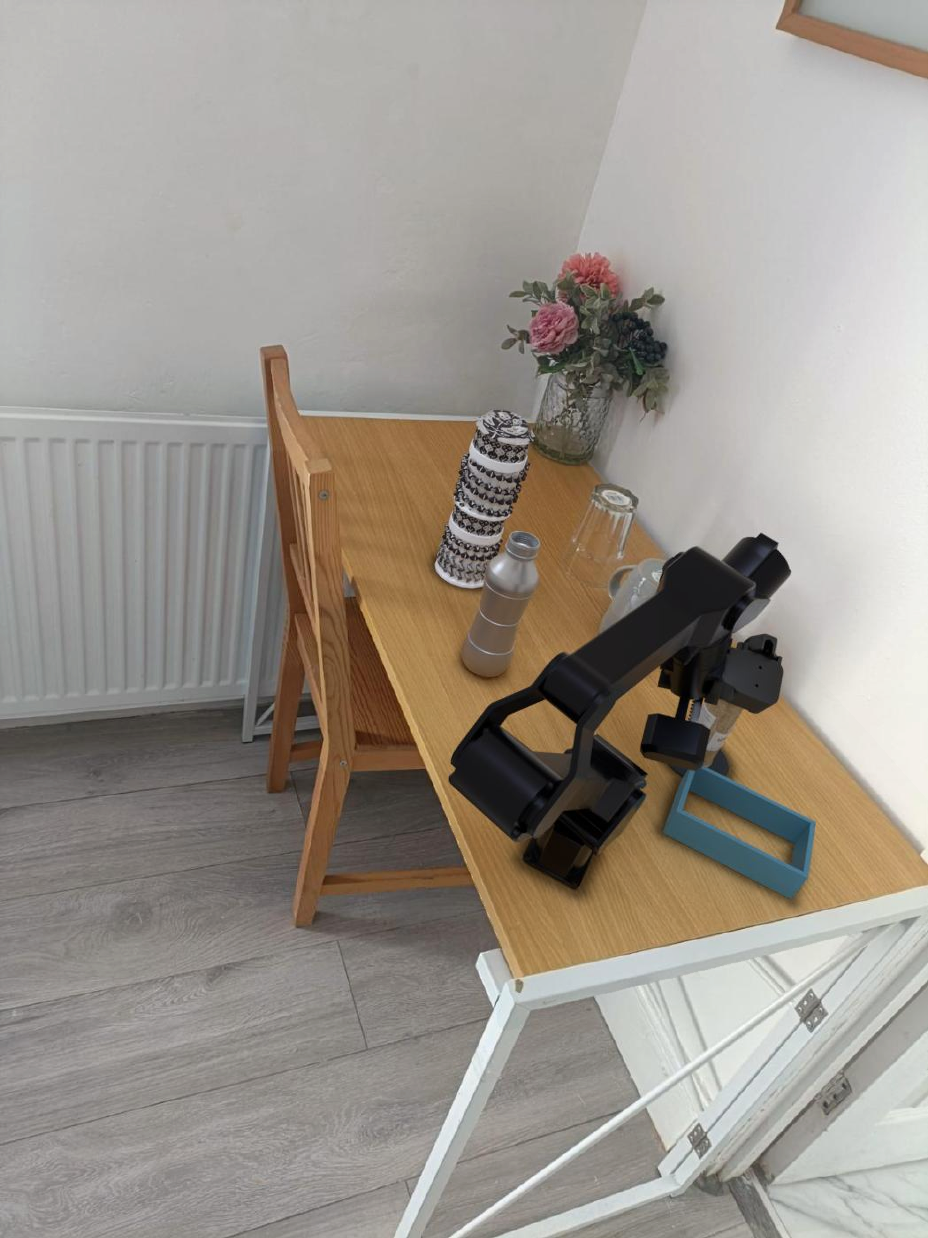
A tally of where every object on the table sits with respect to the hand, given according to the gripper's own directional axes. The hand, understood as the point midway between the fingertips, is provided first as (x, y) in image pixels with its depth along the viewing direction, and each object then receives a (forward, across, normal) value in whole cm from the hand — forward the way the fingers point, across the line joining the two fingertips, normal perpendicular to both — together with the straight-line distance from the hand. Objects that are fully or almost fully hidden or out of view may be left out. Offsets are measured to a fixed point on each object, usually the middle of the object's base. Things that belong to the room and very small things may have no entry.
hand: (683, 710), depth 97 cm
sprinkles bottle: (+16, +1, -2) cm, 16 cm away
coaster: (+16, +1, -2) cm, 16 cm away
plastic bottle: (+10, +4, +26) cm, 28 cm away
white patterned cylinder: (+17, +21, +36) cm, 45 cm away
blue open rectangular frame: (+12, -9, -8) cm, 17 cm away
